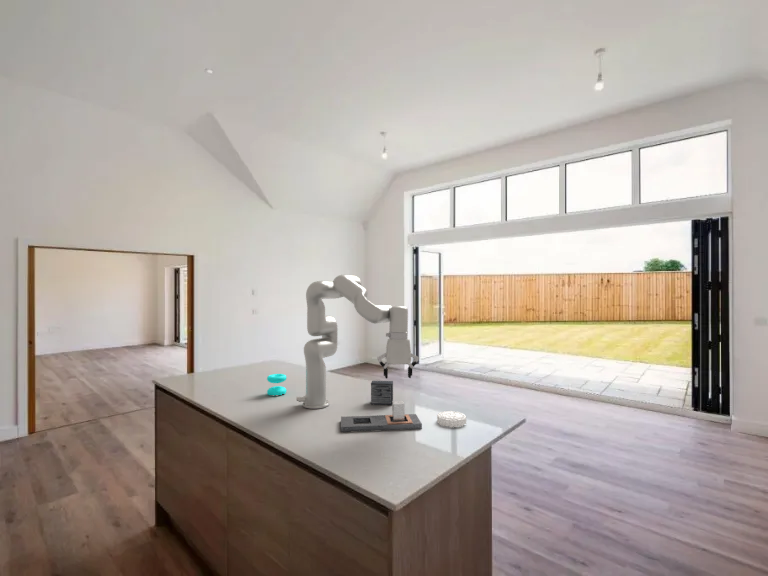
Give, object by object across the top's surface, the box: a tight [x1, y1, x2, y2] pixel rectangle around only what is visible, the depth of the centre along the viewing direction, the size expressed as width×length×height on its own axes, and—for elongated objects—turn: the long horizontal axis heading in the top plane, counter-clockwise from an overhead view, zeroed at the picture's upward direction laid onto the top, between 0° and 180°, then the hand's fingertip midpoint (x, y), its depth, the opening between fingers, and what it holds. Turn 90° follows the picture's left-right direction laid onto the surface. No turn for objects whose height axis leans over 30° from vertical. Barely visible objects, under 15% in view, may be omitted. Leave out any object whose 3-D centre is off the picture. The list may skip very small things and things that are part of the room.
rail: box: [340, 413, 423, 433], centre depth 155 cm, size 32×12×2 cm, turn 96°
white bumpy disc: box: [436, 410, 467, 428], centre depth 158 cm, size 12×12×4 cm
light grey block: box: [391, 400, 405, 422], centre depth 156 cm, size 4×4×9 cm
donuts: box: [266, 373, 287, 397], centre depth 201 cm, size 10×10×10 cm
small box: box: [370, 380, 394, 406], centre depth 185 cm, size 11×6×10 cm, turn 84°
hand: (397, 377), depth 156 cm, fingers open, 9 cm apart
